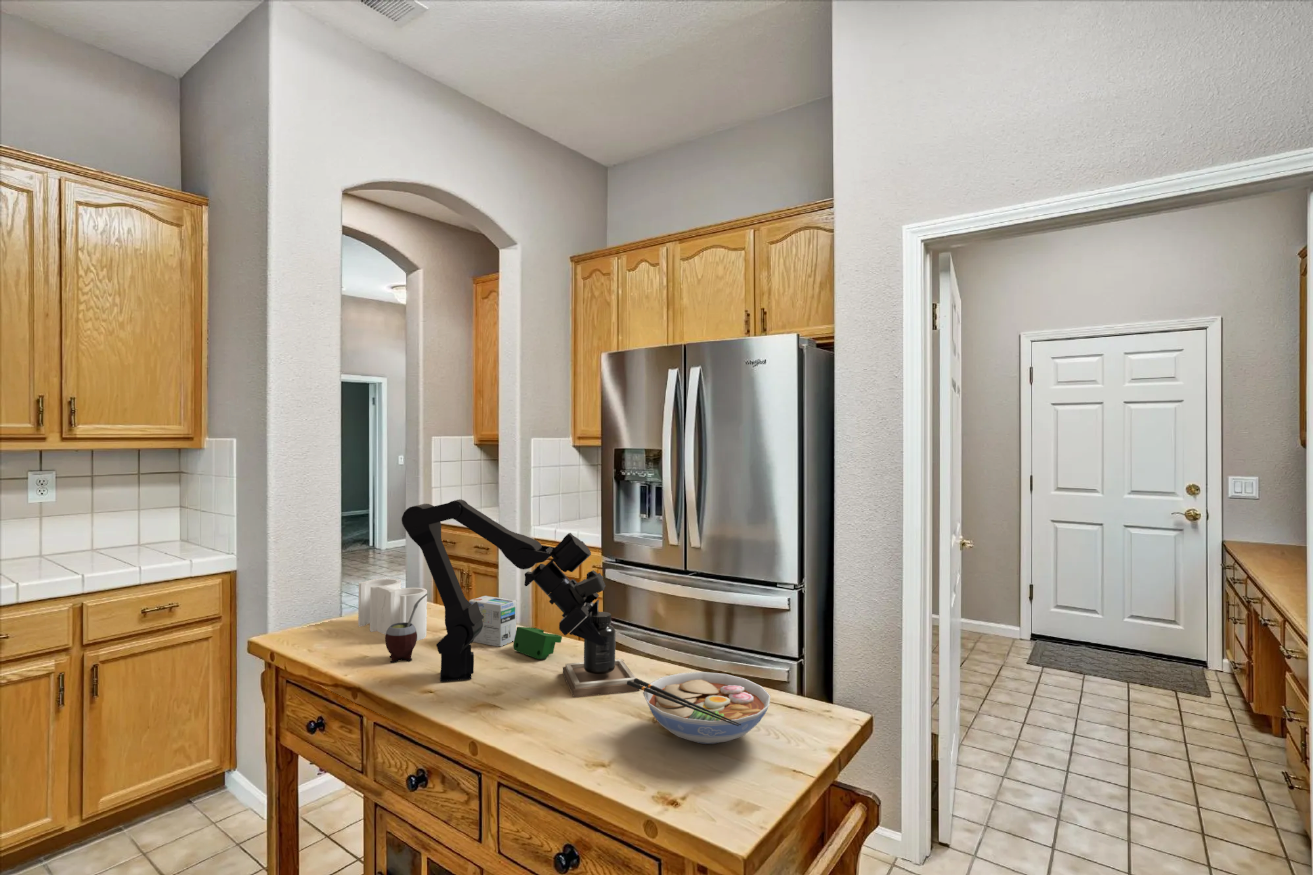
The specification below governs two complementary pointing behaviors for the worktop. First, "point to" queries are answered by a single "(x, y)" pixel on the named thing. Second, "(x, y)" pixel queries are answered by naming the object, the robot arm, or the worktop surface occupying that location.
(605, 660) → the supplement bottle
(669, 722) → the ramen bowl
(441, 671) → the robot arm
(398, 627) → the mate gourd
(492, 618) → the light bulb box
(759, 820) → the worktop surface
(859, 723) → the worktop surface
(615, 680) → the beige square tray
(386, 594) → the white piece
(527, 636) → the clamp
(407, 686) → the worktop surface
